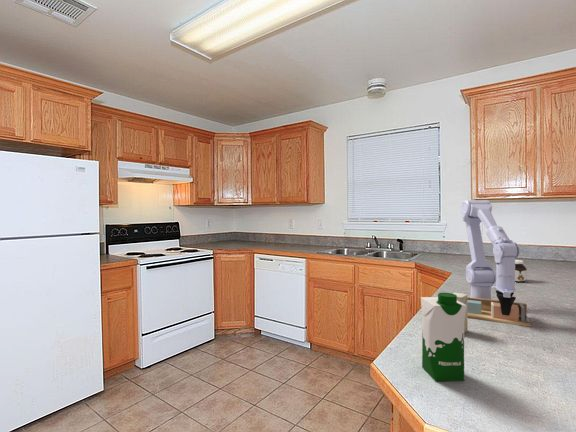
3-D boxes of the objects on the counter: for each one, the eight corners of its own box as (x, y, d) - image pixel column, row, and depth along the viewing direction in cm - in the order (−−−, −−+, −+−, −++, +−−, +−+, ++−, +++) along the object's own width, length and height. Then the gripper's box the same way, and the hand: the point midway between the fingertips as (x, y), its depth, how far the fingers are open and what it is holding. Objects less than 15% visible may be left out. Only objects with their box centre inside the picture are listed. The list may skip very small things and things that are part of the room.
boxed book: (491, 313, 124) (491, 301, 124) (517, 317, 120) (517, 304, 120) (491, 317, 120) (491, 305, 120) (518, 321, 116) (518, 308, 116)
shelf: (464, 309, 133) (465, 296, 132) (525, 316, 123) (526, 303, 123) (464, 317, 122) (464, 303, 122) (530, 326, 113) (530, 312, 113)
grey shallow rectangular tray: (518, 316, 121) (518, 302, 121) (527, 317, 120) (527, 303, 120) (521, 321, 115) (521, 307, 115) (529, 323, 114) (530, 308, 114)
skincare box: (461, 335, 105) (461, 297, 105) (446, 332, 108) (447, 295, 108) (468, 330, 109) (468, 294, 109) (453, 327, 112) (454, 291, 112)
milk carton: (433, 383, 76) (433, 297, 76) (416, 365, 85) (417, 288, 85) (470, 382, 77) (471, 297, 76) (450, 364, 86) (450, 287, 85)
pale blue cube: (466, 309, 129) (466, 299, 129) (480, 311, 127) (481, 301, 126) (465, 312, 125) (465, 302, 125) (481, 314, 123) (481, 303, 123)
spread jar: (507, 282, 180) (507, 261, 179) (500, 278, 191) (500, 258, 190) (533, 283, 176) (533, 262, 176) (524, 279, 187) (525, 259, 187)
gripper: (491, 271, 128) (491, 306, 128) (493, 278, 115) (493, 316, 115) (513, 272, 124) (513, 308, 125) (517, 280, 112) (517, 320, 112)
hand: (505, 312), depth 120 cm, fingers closed on boxed book, 5 cm apart
